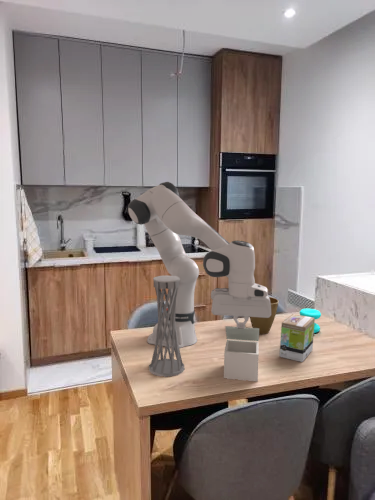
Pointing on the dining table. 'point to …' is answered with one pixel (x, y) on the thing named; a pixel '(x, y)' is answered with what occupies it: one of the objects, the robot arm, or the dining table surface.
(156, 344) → the grey lattice tower
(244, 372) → the carton
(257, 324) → the plant pot
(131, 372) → the dining table surface
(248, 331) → the lid flap
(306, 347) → the tea box
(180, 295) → the robot arm
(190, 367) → the dining table surface
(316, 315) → the cyan rounded piece
